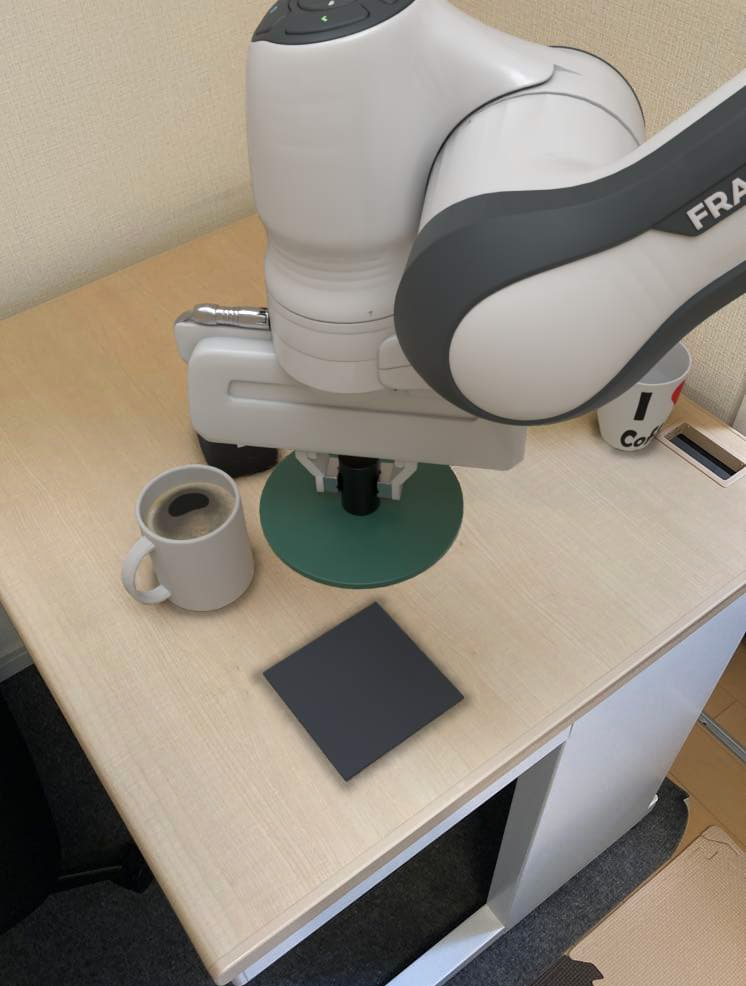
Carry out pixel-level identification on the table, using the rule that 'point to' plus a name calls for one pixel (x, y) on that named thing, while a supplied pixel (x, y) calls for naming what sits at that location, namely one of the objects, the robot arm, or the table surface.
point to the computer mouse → (237, 457)
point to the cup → (645, 403)
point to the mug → (191, 539)
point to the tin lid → (360, 522)
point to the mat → (362, 689)
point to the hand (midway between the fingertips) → (360, 488)
